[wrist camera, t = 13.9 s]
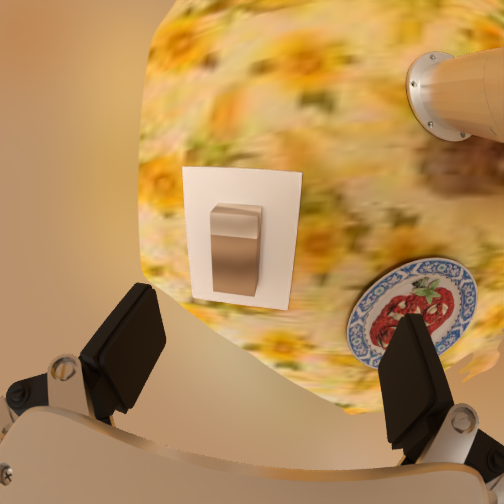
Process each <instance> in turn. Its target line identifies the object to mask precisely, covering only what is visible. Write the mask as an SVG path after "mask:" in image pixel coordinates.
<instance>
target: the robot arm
mask: <svg viewBox="0 0 504 504" xmlns="http://www.w3.org/2000/svg"><path fill="white" fill-rule="evenodd" d="M430 57H431V58H430ZM411 83H412V84H413V86H412V85H411ZM406 88H407V96H408V100H409V103H410V106H411V108H412V111H413V113H414V114H415V116H416V118H417V119H418V121H419V122H420V123H421V124H422V126H423V127H424V128H425V129H426V130H428V131H429V132H430V133H431V134H433V135H434V136H436V137H438V138H441V139H443V140H447V141H454V142H457V141H463V140H465V139H467V138H469V137H470V136H471V135H475V136H479V137H483V138H487V139H490V140H494V141H497V142H501V143H504V47H500V48H495V49H489V50H484V51H480V52H475V53H471V54H467V55H462V56H458V57H454V56H452V55H450V54H447V53H444V52H429V53H426V54H423V55H421V56H420V57H418V58H417V59H416V60H415V61H414V62H413V63H412V65H411V67H410V69H409V71H408V75H407V83H406ZM428 123H429V125H428ZM460 133H461V135H460ZM165 344H166V335H165V331H164V327H163V322H162V318H161V314H160V310H159V304H158V300H157V295H156V291H155V289H152V286H151V285H149V284H144V283H136V284H134V286H133V287H132V288H131V289H130V290H129V292H128V293H127V294H126V295H125V296H124V298H123V299H122V300H121V301H120V302H119V304H118V305H117V306H116V307H115V309H114V310H113V311H112V312H111V314H110V315H109V316H108V317H107V319H106V320H105V321H104V323H103V324H102V325H101V326H100V328H99V329H98V330H97V331H96V333H95V334H94V335H93V337H92V338H91V340H90V341H89V342H88V343H87V345H86V346H85V347H84V349H83V350H82V351H81V353H80V354H81V355H80V356H79V357H78V358H77V357H76V356H74V355H72V354H63V355H60V356H58V357H56V358H55V359H54V360H53V361H52V362H51V363H50V365H49V367H48V372H47V373H45V374H41V375H38V376H34V377H32V378H28V379H24V380H20V381H17V382H15V383H13V384H12V385H11V386H10V387H9V389H8V391H7V393H6V398H5V397H4V396H2V397H0V504H504V446H503V445H502V444H500V443H499V442H497V441H496V440H494V439H493V438H491V437H490V436H489V435H487V434H486V433H484V432H483V431H481V430H480V429H478V425H479V418H478V416H477V413H476V411H475V410H474V409H473V408H472V407H471V406H469V405H467V404H464V403H459V404H456V405H454V401H453V398H452V395H451V391H450V388H449V385H448V382H447V379H446V376H445V373H444V370H443V367H442V365H441V362H440V359H439V356H438V354H437V351H436V348H435V346H434V343H433V341H432V338H431V336H430V333H429V331H428V329H427V326H426V324H425V322H424V319H423V317H422V315H421V314H420V313H406V314H405V316H404V317H401V318H400V320H399V322H398V324H397V327H396V329H395V331H394V333H393V336H392V338H391V340H390V342H389V344H388V346H387V348H386V350H385V352H384V354H383V356H382V358H381V360H380V362H379V365H378V374H379V379H380V385H381V392H382V398H383V405H384V413H385V420H386V429H387V438H388V442H389V443H392V450H393V449H402V448H403V452H404V456H403V457H402V459H401V460H400V461H399V463H398V464H397V466H395V467H385V468H373V469H358V470H302V469H301V470H300V469H285V468H275V467H265V466H258V465H251V464H243V463H238V462H232V461H227V460H221V459H217V458H212V457H207V456H203V455H199V454H195V453H191V452H187V451H183V450H179V449H176V448H173V447H169V446H166V445H162V444H159V443H156V442H153V441H150V440H147V439H145V438H142V437H139V436H136V435H133V434H131V433H128V432H125V431H123V430H120V429H118V428H116V426H115V423H114V419H113V416H112V415H113V413H114V411H115V410H117V411H119V412H122V413H124V414H126V413H127V411H128V409H131V408H133V406H134V404H135V402H136V401H137V399H138V396H139V394H140V393H141V391H142V389H143V387H144V385H145V383H146V381H147V379H148V377H149V375H150V373H151V371H152V369H153V367H154V366H155V364H156V362H157V360H158V358H159V356H160V354H161V352H162V350H163V349H164V347H165Z"/></svg>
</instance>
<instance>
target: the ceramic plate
mask: <svg viewBox="0 0 504 504" xmlns="http://www.w3.org/2000/svg"><path fill="white" fill-rule="evenodd" d="M477 300H478V290H477V285H476V282H475V280H474V277H473V276H472V274H471V273H470V271H469V270H468V269H467V268H466V267H465V266H463V265H462V264H460V263H458V262H456V261H454V260H451V259H446V258H425V259H420V260H416V261H413V262H410V263H407V264H404V265H402V266H400V267H398V268H396V269H394V270H392V271H391V272H389V273H388V274H386V275H385V276H383V277H382V278H380V279H379V280H378V281H377V282H375V283H374V284H373V285H372V286H371V287H370V288H369V289H368V290H367V291H366V292H365V293H364V294H363V296H362V297H361V298H360V300H359V301H358V302H357V304H356V306H355V307H354V309H353V311H352V313H351V315H350V318H349V321H348V325H347V342H348V345H349V348H350V350H351V352H352V354H353V355H354V356H355V357H356V358H357V359H358V360H359V361H360V362H362V363H363V364H365V365H367V366H369V367H371V368H375V369H378V365H379V362H380V360H381V358H382V356H383V354H384V352H385V350H386V348H387V346H388V344H389V342H390V340H391V338H392V336H393V333H394V331H395V329H396V327H397V324H398V322H399V320H400V318H401V317H404V316H405V314H406V313H420V314H421V315H422V317H423V319H424V322H425V324H426V326H427V329H428V331H429V333H430V336H431V338H432V341H433V343H434V346H435V348H436V351H437V354H438V356H440V355H442V354H443V353H444V352H446V351H447V350H448V349H450V348H451V347H452V346H453V345H454V344H455V343H456V342H457V341H458V340H459V339H460V338H461V336H462V335H463V334H464V333H465V331H466V330H467V328H468V327H469V325H470V323H471V321H472V319H473V316H474V314H475V311H476V307H477Z"/></svg>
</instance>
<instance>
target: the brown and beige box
mask: <svg viewBox="0 0 504 504" xmlns="http://www.w3.org/2000/svg"><path fill="white" fill-rule="evenodd" d="M261 223H262V206H257V205H246V204H233V203H218V204H217V205H216V206H215V207H214V208H213V209H212V211H211V212H210V233H211V258H212V279H213V291H214V292H221V293H229V294H236V295H244V296H252V297H254V296H255V292H256V289H257V285H258V280H259V262H260V243H261Z"/></svg>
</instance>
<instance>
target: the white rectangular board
mask: <svg viewBox="0 0 504 504" xmlns="http://www.w3.org/2000/svg"><path fill="white" fill-rule="evenodd" d="M182 168H183V190H184V207H185V221H186V234H187V246H188V257H189V267H190V277H191V286H192V294H193V298H198V299H204V300H211V301H218V302H225V303H232V304H240V305H248V306H256V307H264V308H273V309H282V310H288V304H289V296H290V288H291V280H292V272H293V264H294V255H295V246H296V237H297V227H298V217H299V207H300V196H301V184H302V172H297V171H286V170H273V169H259V168H241V167H215V166H183V167H182ZM218 203H233V204H246V205H257V206H262V223H261V243H260V262H259V280H258V285H257V289H256V292H255V296H254V297H252V296H244V295H236V294H229V293H221V292H214V291H213V279H212V258H211V233H210V212H211V211H212V209H213V208H214V207H215V206H216V205H217V204H218Z"/></svg>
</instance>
